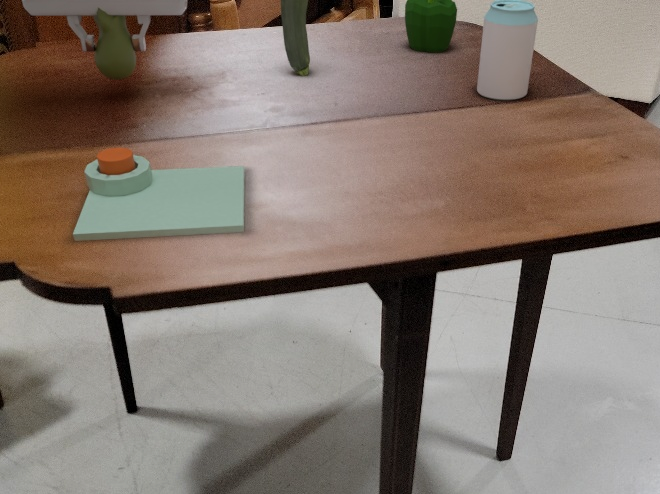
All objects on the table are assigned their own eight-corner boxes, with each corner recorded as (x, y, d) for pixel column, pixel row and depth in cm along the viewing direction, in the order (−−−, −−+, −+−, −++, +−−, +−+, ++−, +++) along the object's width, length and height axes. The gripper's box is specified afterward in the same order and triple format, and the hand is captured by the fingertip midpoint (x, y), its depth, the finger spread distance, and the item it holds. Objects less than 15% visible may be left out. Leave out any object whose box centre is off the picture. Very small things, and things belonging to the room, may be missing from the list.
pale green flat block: (72, 245, 70) (65, 216, 68) (96, 181, 81) (90, 155, 79) (244, 236, 71) (241, 208, 69) (244, 174, 82) (242, 149, 80)
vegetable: (281, 79, 109) (272, -76, 96) (287, 70, 112) (279, -81, 100) (310, 80, 108) (305, -75, 96) (316, 72, 112) (311, -80, 99)
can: (480, 104, 101) (490, 10, 93) (472, 87, 106) (481, -3, 99) (531, 104, 101) (545, 10, 93) (520, 87, 106) (533, -3, 99)
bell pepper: (398, 44, 124) (400, -21, 117) (445, 42, 125) (450, -23, 119) (410, 59, 117) (413, -10, 111) (459, 56, 118) (465, -12, 112)
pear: (144, 81, 99) (131, 1, 93) (104, 87, 97) (89, 5, 91) (132, 70, 103) (119, -8, 97) (94, 75, 101) (78, -4, 94)
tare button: (97, 178, 75) (94, 162, 74) (103, 163, 78) (99, 148, 77) (133, 176, 76) (130, 160, 75) (137, 162, 78) (134, 146, 77)
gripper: (-2, -66, 85) (28, 58, 94) (177, -64, 88) (190, 56, 96) (12, -74, 90) (39, 44, 99) (180, -72, 93) (193, 43, 101)
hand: (115, 50), depth 97 cm, fingers closed on pear, 5 cm apart
